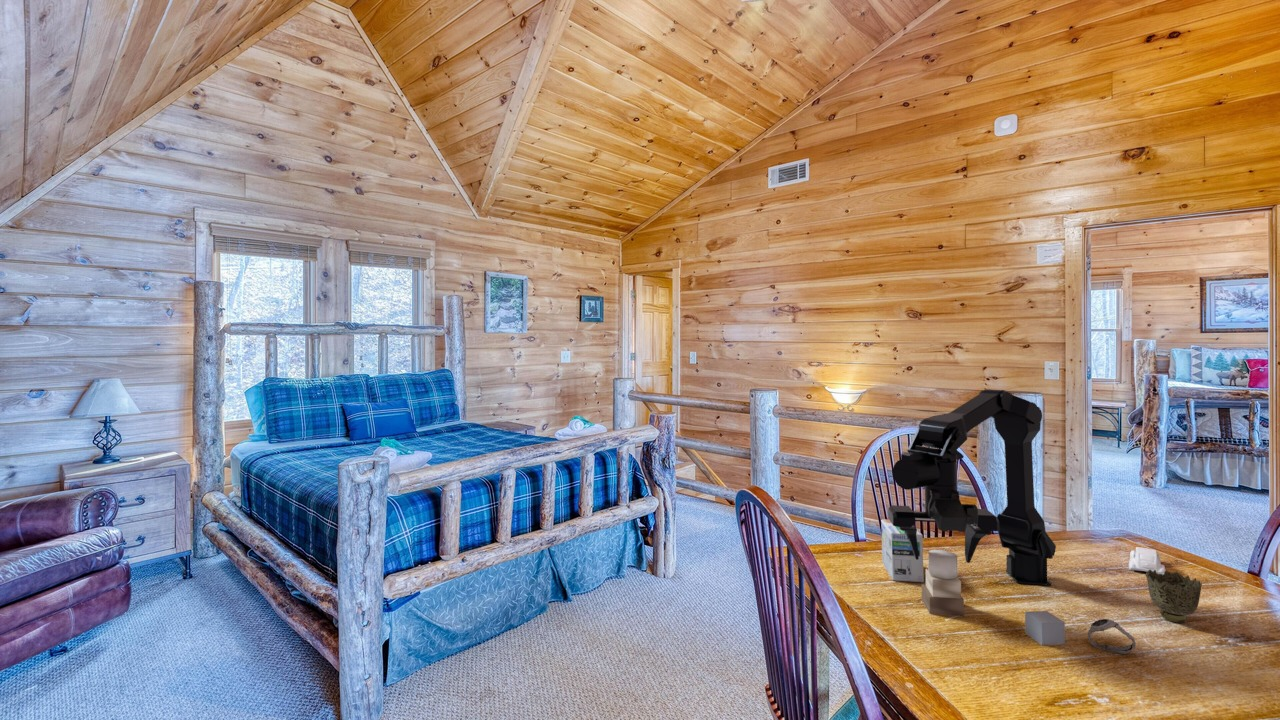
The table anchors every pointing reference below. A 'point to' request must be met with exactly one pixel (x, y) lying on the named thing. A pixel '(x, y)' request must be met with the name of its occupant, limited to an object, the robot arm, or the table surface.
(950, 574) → the white cylinder
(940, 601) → the tower base
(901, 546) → the light bulb box
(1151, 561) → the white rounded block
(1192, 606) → the cup
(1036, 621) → the block
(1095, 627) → the wristwatch
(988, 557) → the table surface
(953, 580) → the tower top
